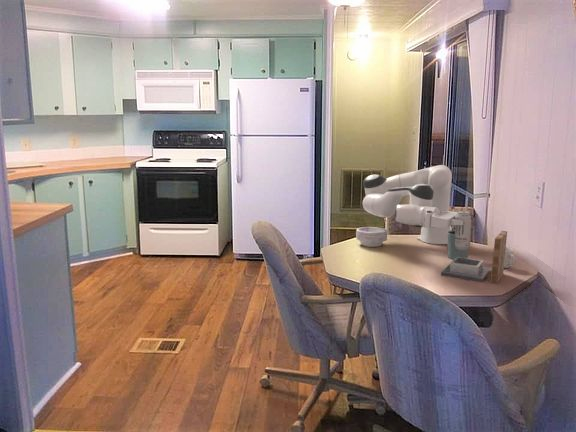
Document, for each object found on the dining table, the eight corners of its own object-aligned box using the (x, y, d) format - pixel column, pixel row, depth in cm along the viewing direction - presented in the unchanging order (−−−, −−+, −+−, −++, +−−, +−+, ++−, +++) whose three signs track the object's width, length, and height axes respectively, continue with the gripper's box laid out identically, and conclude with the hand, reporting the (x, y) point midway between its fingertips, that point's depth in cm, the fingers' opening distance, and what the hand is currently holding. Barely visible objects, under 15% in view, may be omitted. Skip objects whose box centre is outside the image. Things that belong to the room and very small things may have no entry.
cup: (520, 270, 219) (522, 252, 218) (505, 272, 217) (507, 253, 215) (503, 263, 229) (505, 246, 228) (488, 264, 227) (489, 247, 225)
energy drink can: (452, 248, 212) (452, 212, 210) (458, 245, 217) (459, 210, 214) (466, 250, 208) (467, 213, 206) (472, 247, 212) (473, 211, 210)
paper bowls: (362, 239, 269) (363, 224, 267) (390, 243, 261) (391, 228, 259) (350, 245, 256) (351, 230, 254) (379, 250, 248) (380, 234, 247)
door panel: (497, 273, 215) (502, 230, 212) (502, 273, 214) (507, 231, 211) (490, 283, 202) (494, 238, 198) (496, 284, 201) (500, 239, 197)
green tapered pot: (469, 261, 231) (472, 235, 229) (446, 260, 233) (448, 234, 231) (466, 255, 241) (469, 230, 239) (444, 254, 243) (446, 229, 241)
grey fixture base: (452, 265, 226) (452, 253, 225) (490, 271, 218) (491, 259, 217) (440, 275, 211) (441, 263, 210) (482, 282, 203) (483, 270, 202)
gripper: (438, 220, 226) (471, 224, 219) (424, 228, 209) (458, 233, 202) (439, 206, 225) (472, 210, 218) (425, 213, 208) (460, 217, 201)
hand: (465, 221), depth 210 cm, fingers closed on energy drink can, 6 cm apart
